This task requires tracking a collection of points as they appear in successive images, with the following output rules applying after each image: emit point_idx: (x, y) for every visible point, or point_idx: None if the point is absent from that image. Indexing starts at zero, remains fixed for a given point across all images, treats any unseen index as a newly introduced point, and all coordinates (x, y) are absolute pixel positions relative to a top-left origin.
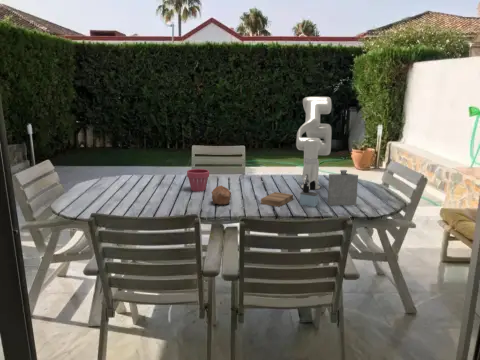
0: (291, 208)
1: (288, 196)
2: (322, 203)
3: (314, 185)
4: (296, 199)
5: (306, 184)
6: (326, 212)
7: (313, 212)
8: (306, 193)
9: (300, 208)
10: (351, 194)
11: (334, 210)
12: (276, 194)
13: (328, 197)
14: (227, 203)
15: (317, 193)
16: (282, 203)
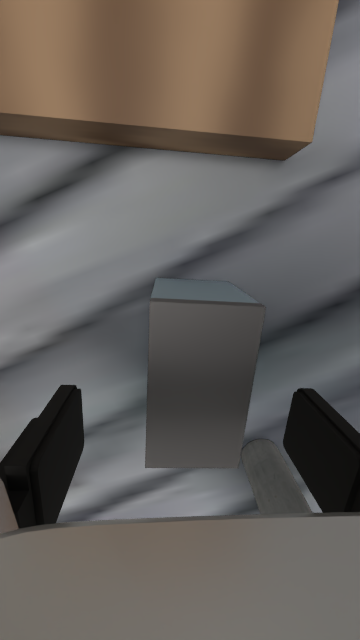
0: (3, 257)
1: (205, 116)
2: (256, 410)
3: (315, 492)
4: (297, 193)
5: None
6: (71, 482)
7: (20, 425)
8: (161, 377)
9: (51, 322)
10: None
11: (137, 503)
12: None
13: (264, 490)
14: None
15: (219, 465)
16: (21, 129)
